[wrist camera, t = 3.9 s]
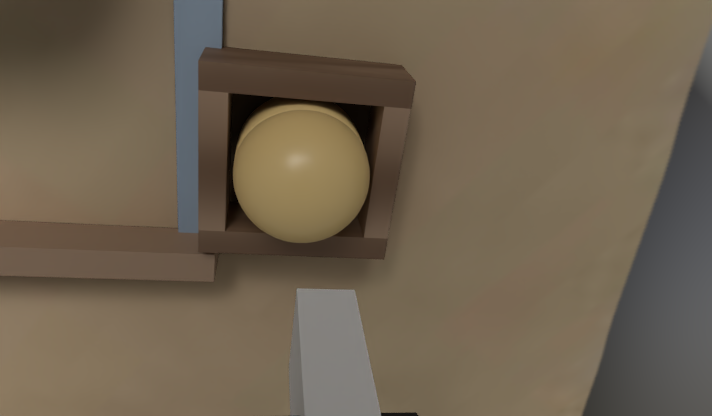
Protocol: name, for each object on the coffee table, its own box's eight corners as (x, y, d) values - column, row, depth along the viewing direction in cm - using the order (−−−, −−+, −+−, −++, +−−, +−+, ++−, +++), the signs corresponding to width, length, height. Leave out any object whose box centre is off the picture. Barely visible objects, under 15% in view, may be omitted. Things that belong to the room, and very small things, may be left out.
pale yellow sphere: (238, 83, 25) (229, 128, 20) (367, 95, 26) (391, 141, 21) (235, 201, 28) (226, 267, 22) (351, 207, 29) (369, 272, 24)
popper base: (206, 45, 24) (198, 60, 22) (401, 65, 26) (416, 81, 23) (205, 221, 29) (198, 252, 26) (374, 229, 30) (384, 259, 27)
